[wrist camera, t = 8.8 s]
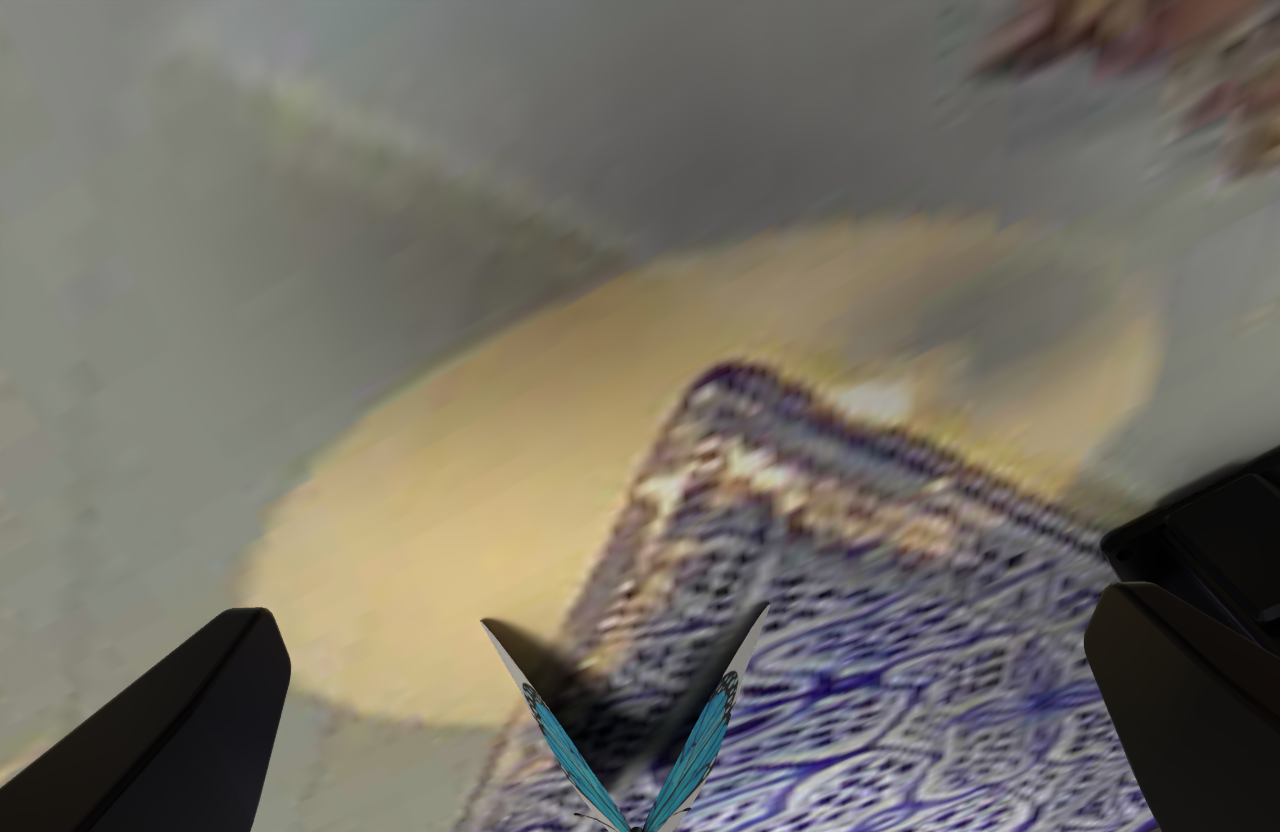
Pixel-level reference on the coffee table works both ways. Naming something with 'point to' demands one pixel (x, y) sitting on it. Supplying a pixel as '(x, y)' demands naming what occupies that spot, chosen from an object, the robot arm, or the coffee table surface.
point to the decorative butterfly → (688, 766)
